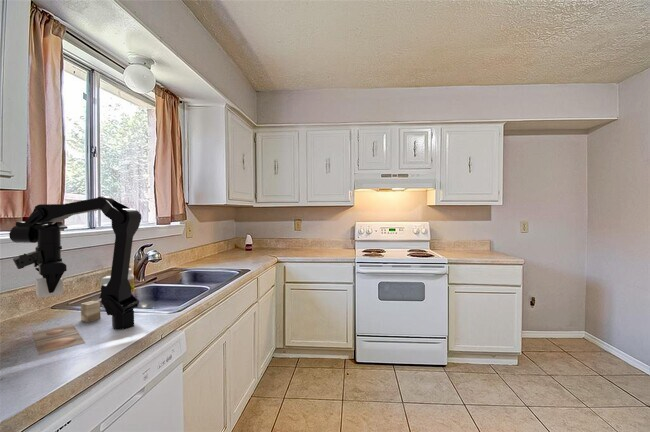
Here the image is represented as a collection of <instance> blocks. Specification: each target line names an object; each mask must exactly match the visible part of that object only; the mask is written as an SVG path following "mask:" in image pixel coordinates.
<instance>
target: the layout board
mask: <svg viewBox="0 0 650 432" xmlns="http://www.w3.org/2000/svg"><path fill="white" fill-rule="evenodd" d="M31 333H32V336H33V340H34V343H35V346H36V350H37V354H38V355H42V354H48V353H50V352H54V351H55V352H56V351H58V350H64V349H66V348H70V347H75V346H79V345H83V344H86V341H85V340H84V338H83V337H82V336H81V334H80V333H79V331H78V330H77V328H76V327H75V325H74V324H73V323H71V324H70V323H69V324H64V325H61V326H55V327H50V328H46V329H41V330H37V331H36V330H35V331H32V332H31Z"/></svg>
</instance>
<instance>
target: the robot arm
mask: <svg viewBox="0 0 650 432" xmlns="http://www.w3.org/2000/svg"><path fill="white" fill-rule="evenodd" d="M96 211H101V212H102V213H103V215H104V216H105V217H107V218H108V219H110V220H111V229H112V231H113V233H114V235H115V238H114V247H113V252H112V253H113V255H112V263H111V270H110V276H111V277H110V281H109V282H108V283H107V284H105V285H102V284H101V287H100V295H99V297H98V299H100V304H101V305H104V307H103V308H104V309H105V312H106V315H107V316H112V317H111V319H112V320H111V323H112V324H111V325H112V329H113V330H117V331H118V330H121V331H122V330H127V329H130V328H133V327H135V311H134V310H135V308H137V307H138V306H139V303H140V301H139V299H138V298H136V296H135V295H134V296H133V295H132V294H131V285H130V283H129V281H128V272H129V268H130V263H131V255H132V247H133V239H134V236H135V234H136V233H137V231H138V229H139V227H140V224H141V221H142V214H141V213H140V212H139V210H137V208H136V209H135V208H131V207H129V206H128V205H126V204H124V203H122V202H120V201H118V200H116V199H114V198H113V197H111V196H100V195H99V196H98V197H95V198H89V199H85V200H84V199H83V200H80V201H73V202H68V203H59V204H58V203H53V204H52V203H51V204H50V203H47V204H46V203H43V204H41V203H40V204H37V205H35V206H34V208H33V211H32V212H31V214H30V215H29V216H28V218H27V219H26V220H25V221H16V222H15V225H14V226H12V228H11V229H10V232H9V233H8V234H9V238H10V240H11V242H13V243H16V244H17V243H19V244H20V243H21V244H25V243H27V244H35V243H36V244H37V245H36V246H35V251H31V252H28V253H23V254H19V255H18V256H16V257H14V258H12V260H13V261H12V262H14V265H15V266H16V269H18V270H21V269H24V268H26V267H28V266H30V265H33V267H34V268H35V270H36V271H38V274H39V275H40V276H42V278H45V279H46V283H47V287H48V291H49V293H53V292H54V290H55V288H56V286H57V284H58V282H59V281H60V279H61V278H62V277H63V276H64V273H65V272H67V270H68V269H67V264H65V262H63V258H62V252H61V251H62V249H63V246H62V244H61V243H62V240H61V239H62V238H61V237H62V236H61V233H62V231H61V230H65V229H66V230H67V229H68V226H67V225H65V224H64V223H63V222H62V221H64V220H66V219H68V218H70V217H72V216H75V215H76V216H77V215H80V214H85V213H90V212H96Z"/></svg>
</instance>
